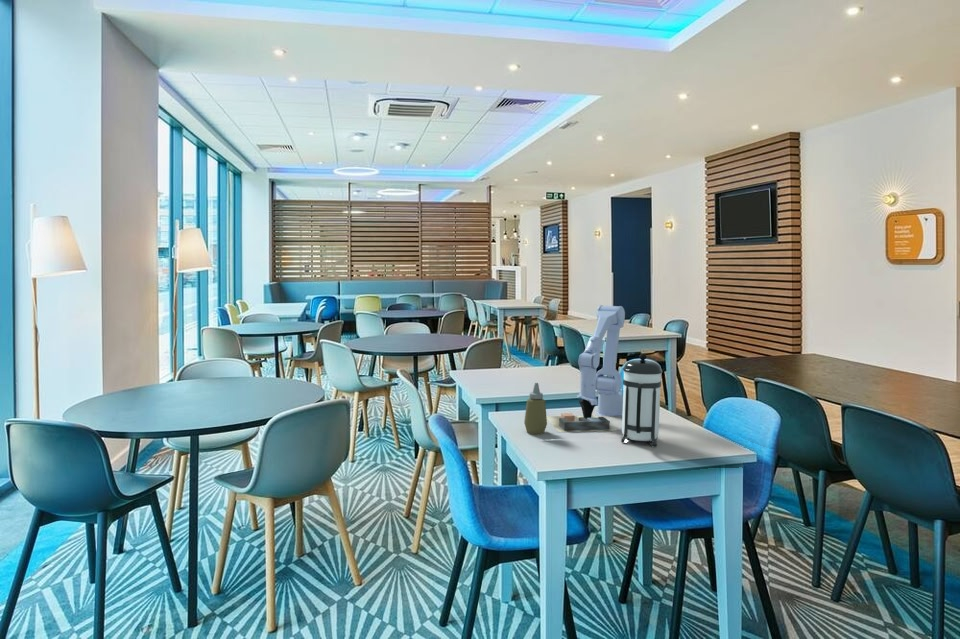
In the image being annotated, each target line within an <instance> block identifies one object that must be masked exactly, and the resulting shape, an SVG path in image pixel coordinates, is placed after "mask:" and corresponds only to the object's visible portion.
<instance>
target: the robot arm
mask: <svg viewBox="0 0 960 639" xmlns="http://www.w3.org/2000/svg"><path fill="white" fill-rule="evenodd" d="M625 316H626V311H625V308H624V307H623V306H622V305H619V306H617V305H601V304H600V305H599V306H598V307H597V310H596V320H597V323H596V326H595V329H594V332H593V336H590V337H589V339H588V340H587V341H588V342H586V343H587V344H586V346H585V349H584V351H583V352H582V353H580V354H579V356H578V360H577V362H578V367H579V372H580V382H579V383H580V386H579V388H580V389H579V390H580V391H578V394H577V395H576V398H577V399H582V400H578V403H579V405H580V407H581V411H582V416H583V417H584V418H586V419H587V418H591V416H592V415H593V411H594V413H597V415H599V417H607V416H608V417H610V416H612V417H615V416H622V414H623V393H621V392H620V391H621V390H622V386H623V381H622V374H621V373H620V372H619V371H618V370H617V368H616V367H617V366H616V365H617V358H618V350H619V349H618V348H619V341H620V332H621V328H624V326H625ZM605 335H606V338H605V342H604V340H603V339H604V336H605ZM604 344H605V346H604ZM603 346H604V355H603V361H602V362H603V364H602V367H601V369H599V370H598V371H597V368H598V367H599V365H600V358H601V351H602V349H603ZM596 392H597V394H598V395H596ZM597 396H598V399H597ZM596 406H597V410H594V409H595V407H596Z"/></svg>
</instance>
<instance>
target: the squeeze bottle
mask: <svg viewBox="0 0 960 639" xmlns="http://www.w3.org/2000/svg"><path fill="white" fill-rule="evenodd" d="M547 417H548V416H547V406H546V400H545V399H544V394H543V392H541V391H540V386H539V383H538V382H535V383H534V386H533V389H532V391H531V392H529V398H528V399H527V400H526V406H525V414H524V426H525V430H526V433H527V434H530V435H542V434H545V430H546V428H547V426H548V421H547Z"/></svg>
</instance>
